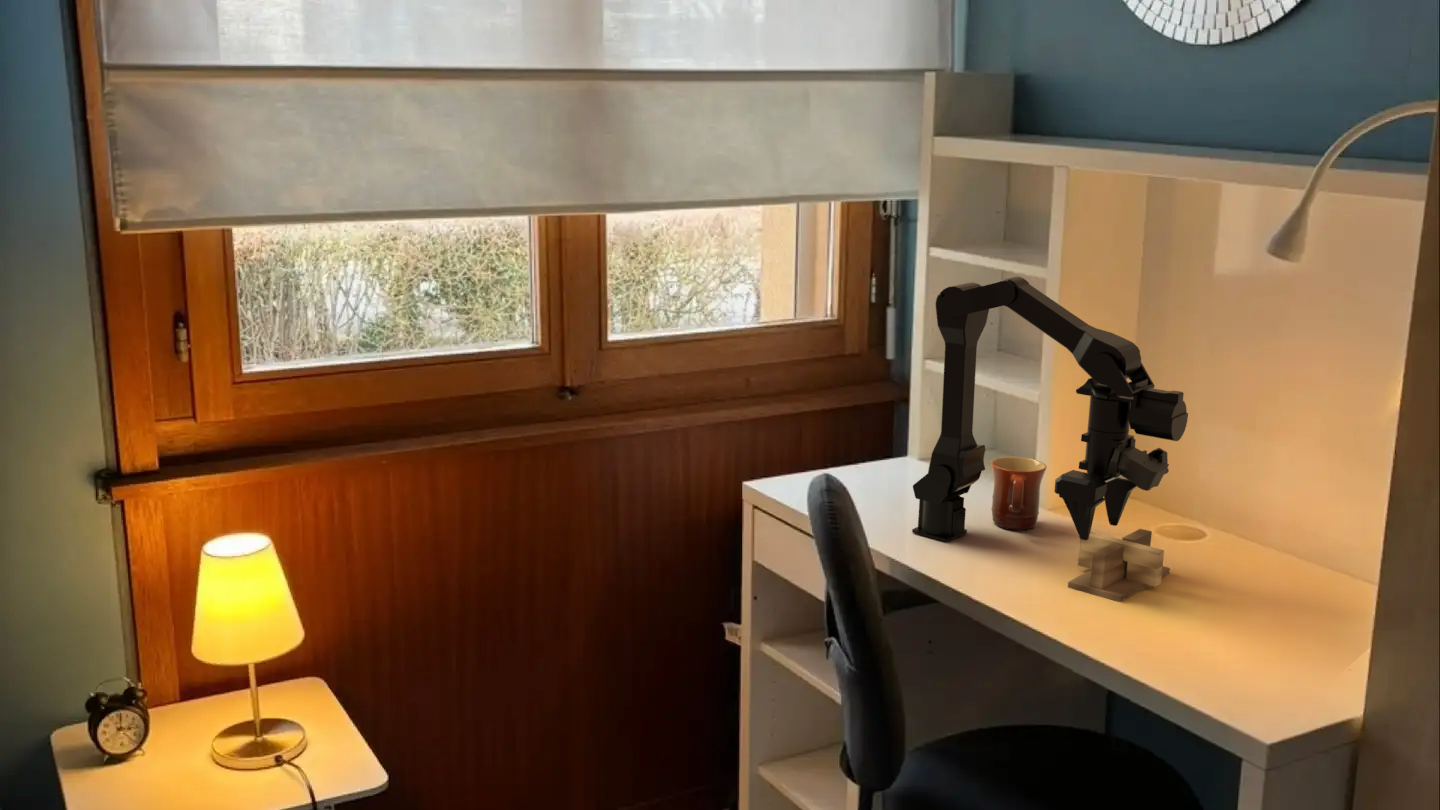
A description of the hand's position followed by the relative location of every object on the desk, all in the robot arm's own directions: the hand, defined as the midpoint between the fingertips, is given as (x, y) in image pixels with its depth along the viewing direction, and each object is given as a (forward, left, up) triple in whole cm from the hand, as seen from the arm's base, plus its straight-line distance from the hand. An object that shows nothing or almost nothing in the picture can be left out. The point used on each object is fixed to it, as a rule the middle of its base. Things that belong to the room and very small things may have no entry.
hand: (1098, 532), depth 201 cm
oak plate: (+4, 0, -6) cm, 7 cm away
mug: (-19, +10, -7) cm, 23 cm away
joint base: (+4, 0, -6) cm, 7 cm away
